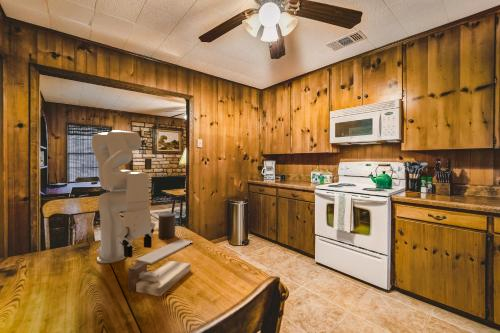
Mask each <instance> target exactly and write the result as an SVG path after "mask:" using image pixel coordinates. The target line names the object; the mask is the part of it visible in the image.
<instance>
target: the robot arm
mask: <svg viewBox="0 0 500 333" xmlns="http://www.w3.org/2000/svg"><path fill="white" fill-rule="evenodd" d="M141 146H142V138H141V136H140V134H139V133H138V132H135V131H126V130H111V131H109V132H99V133H95V134H93V136H92V137H91V149H92V151H93V154H94V156H95V159H96V161H97V164H98V177H99V184H100V187H101V189H103V190H107V191H108V192H104V193H102V194H100V195H99V196H98V199H97V205H98V211H99V218H100V219H99V220H100V226H99V228H100V246H99V247H98V249H96V250H95V253H97V254H98V256H97V258H96V262H97V263H98V264H112V263H117V262H120V261H123V260H124V259H126V258H133V255H134V254H133V245H132V244H133V242H134V240H136V239H139V238H141V237H143V248H147V249H148V248H149V249H150V248H152V246H153V245H152V243H153V242H152V241H153V240H152V238H153V234H154V231H155V227H156V223H154V222H152V215H151V210H150V200H149V199H150V194H149V192H150V191H149V190H150V187H149V186H150V185H149V184H150V182H149V179H150V178H149V173H147V172H145V171H139V170H138V171H135V170H131V169H120V167H122V166H123V167H124V166H125V165H127V164H128V163H131V161H132V160H133V158H134V153H133V152H135V151H138V150H140V149H141ZM119 212H120V213H121V212H124V213H123V217H122V216H121V215H120V214H119Z"/></svg>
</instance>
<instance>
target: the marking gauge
mask: <svg viewBox="0 0 500 333" xmlns="http://www.w3.org/2000/svg"><path fill="white" fill-rule="evenodd" d="M127 269H128V271H127V273H128V275H127V278H128V280H127V283H128V287H127V289H128V291H131V292H136V283H137V282H139V281H140V280H147V281H153V282H156V281H157V280H159V274H157V273H152V272H151V271H148V264H147V263H146V262H137V263H135V264H134V265H132V266H130V267H128V268H127Z"/></svg>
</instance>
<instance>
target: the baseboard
mask: <svg viewBox="0 0 500 333" xmlns="http://www.w3.org/2000/svg"><path fill="white" fill-rule="evenodd" d="M179 238H180V239H179ZM192 242H193V243H194V240H192V238H191V239H190V238H189V239H183V238H181V237H180V236H179V237H178V238H177V240H175V241H173V242H171V243H169V244H166V245H164V246H162V247H160V248H157V249H155V250H152V251H151V252H149V253H148V252H147V253H146V254H144V255H142V256H140V257H137V258H135V259H134V260H133V261H135V262H137V263H139V262H146V263H147V265H153V264H155V263H157V262H159V261H160V260H162V259H165V258H167V257H169V256H170V255H172V254H174V253H176V252H178V251H180V250H182V249H184V248H186V247H188V246H190V245H191V244H190V243H192ZM193 243H192V244H193ZM189 244H190V245H189ZM187 245H188V246H187ZM185 246H186V247H185Z"/></svg>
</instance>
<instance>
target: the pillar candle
mask: <svg viewBox="0 0 500 333" xmlns="http://www.w3.org/2000/svg"><path fill="white" fill-rule="evenodd" d="M157 232H158V235H157V237H158V239H160V240H169V238H170V239H173V238H172V237H174V236H175V237H176V214H175V213H172V212H166V213H165V212H163V213H160V214H158V231H157ZM175 237H174V238H175Z"/></svg>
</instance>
